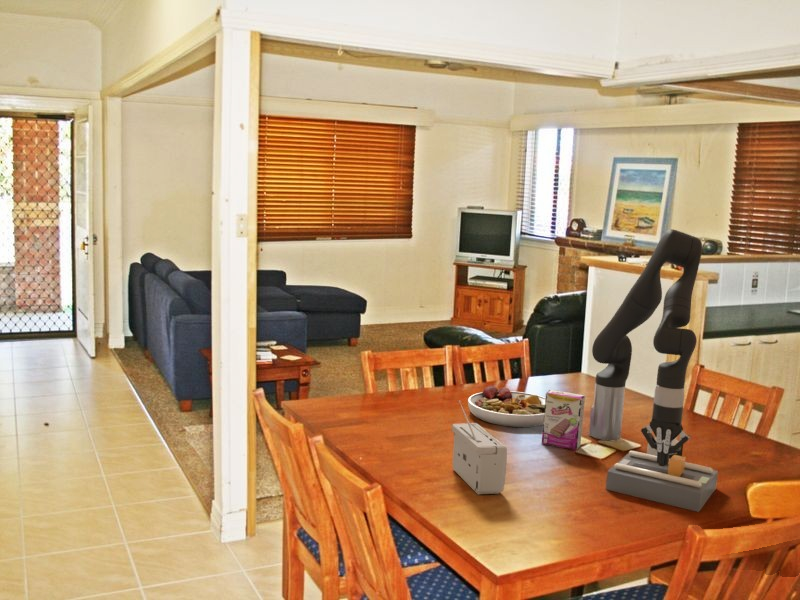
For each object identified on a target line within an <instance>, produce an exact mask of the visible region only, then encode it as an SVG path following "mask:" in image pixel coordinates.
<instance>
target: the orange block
mask: <svg viewBox="0 0 800 600" xmlns="http://www.w3.org/2000/svg"><path fill="white" fill-rule="evenodd" d="M686 458H687V457H686V456H683V455H682V456H678V455H673V456H672V457H671V458H670V459H669V467H668V474H669V475H673V476H678V477H680V476H681V474H682V473H683V472H684V467H685V462H686Z"/></svg>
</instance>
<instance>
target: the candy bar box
mask: <svg viewBox="0 0 800 600" xmlns="http://www.w3.org/2000/svg"><path fill="white" fill-rule="evenodd" d="M545 398H546V399H545V410H544V422H543V425H542V434H541V444H542V445H546V446H547V445H548V446H551V447H557V448H563V449H568V450H573V451H578V449H579V448H580V447H581V445H582V443H581V442H582V432H583V422H584V412H585V411H584V410H585V402H586V401H585V400H586V396H585V394H579V393H573V392H567V391H562V390H555V389H549V390H548V391H546V393H545Z"/></svg>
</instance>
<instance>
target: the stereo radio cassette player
mask: <svg viewBox="0 0 800 600" xmlns="http://www.w3.org/2000/svg"><path fill="white" fill-rule="evenodd" d="M458 403H459V404H460V406H461V411H462V412H463V415H464V418H465V420H466V423H465V422H463V423H461V422H460V423H453V424H452V425H451V432H453V449H452V450H453V452H452V469H453V471H454V472H455V473H456V474H458V476H459V477H460V478H461V479H462V480H463V481H464V482H465V483H466V484H467V485H468V486H469V487H470V489H472V490H473V491H474V492H475V493H476V495H489V494H492V495H493V494H495V495H498V494H500V493H502V492H503V491H504V489H505V483H506V475H507V474H506V473H507V457H508V451H507V449H508V448H507V446H506V445H504V444H503V443H502V442H501V441H500V440H498V439H497V438H496V437H494V435H492V434H491V433H490V432H488V431H487V430H486V429H485V428H484V427H482V426H481V425H480V424H479V423H477V422H470V421H469V419H468V417H467V414H466V412H465V410H464V408H463V406H462V403H461V400H458Z"/></svg>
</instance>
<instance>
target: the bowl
mask: <svg viewBox="0 0 800 600" xmlns="http://www.w3.org/2000/svg"><path fill="white" fill-rule="evenodd" d="M545 399H546V396H543V395H542V396H541V395H537V394H534V393H529V392H523V391H513V390H512V391H511V390H510V389H509V388H508V387H502V388H500V389H499V390H498V388H497V386H494V385H487V386H485V387H484V389H483V391H482V392H477V393H474V394H472V395H471V396H469V397H468V399H467V404H468V409H469V411H470V412H471V414H472V415H473V416H475V417H476V418H478V419H479V420H482V421H484V422H486V423H490V424H493V425H499V426H503V427H513V428H531V427H532V428H533V427H538V426H543V422H544V410H545Z"/></svg>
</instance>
